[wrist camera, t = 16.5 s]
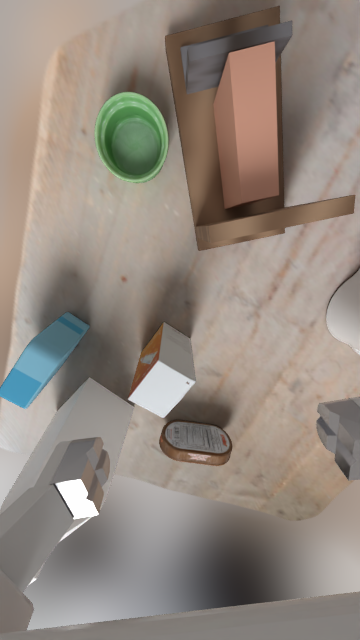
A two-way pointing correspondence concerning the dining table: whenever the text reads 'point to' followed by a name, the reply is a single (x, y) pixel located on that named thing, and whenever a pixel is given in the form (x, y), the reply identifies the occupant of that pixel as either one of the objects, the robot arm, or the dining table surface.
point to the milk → (78, 437)
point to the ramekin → (131, 137)
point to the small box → (163, 371)
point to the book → (248, 126)
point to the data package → (42, 360)
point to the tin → (195, 443)
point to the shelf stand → (201, 140)
